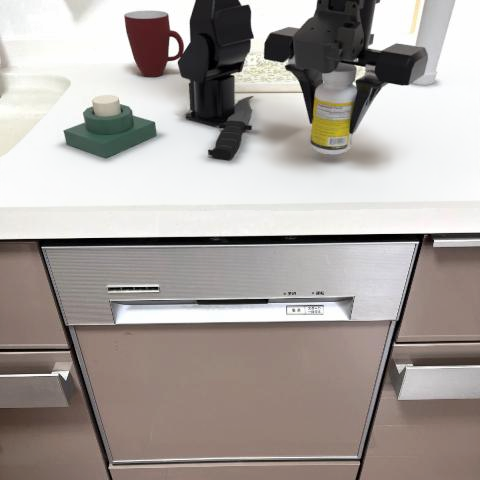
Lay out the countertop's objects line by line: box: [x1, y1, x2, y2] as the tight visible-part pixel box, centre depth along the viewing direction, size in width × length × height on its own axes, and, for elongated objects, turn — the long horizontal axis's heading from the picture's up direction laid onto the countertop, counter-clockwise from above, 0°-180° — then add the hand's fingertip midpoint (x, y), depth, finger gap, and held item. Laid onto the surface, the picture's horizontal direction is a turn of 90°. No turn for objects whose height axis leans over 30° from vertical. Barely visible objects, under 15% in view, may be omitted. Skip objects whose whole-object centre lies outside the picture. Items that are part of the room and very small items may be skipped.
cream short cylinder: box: [91, 94, 121, 117], centre depth 65 cm, size 4×4×2 cm
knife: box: [207, 95, 255, 162], centre depth 72 cm, size 25×2×5 cm
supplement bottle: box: [309, 63, 358, 155], centre depth 60 cm, size 5×5×10 cm
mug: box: [123, 10, 185, 78], centre depth 89 cm, size 11×8×10 cm
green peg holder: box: [63, 103, 158, 159], centre depth 67 cm, size 8×10×4 cm
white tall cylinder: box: [412, 0, 456, 86], centre depth 82 cm, size 5×5×25 cm
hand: (331, 128), depth 61 cm, fingers closed on supplement bottle, 5 cm apart
